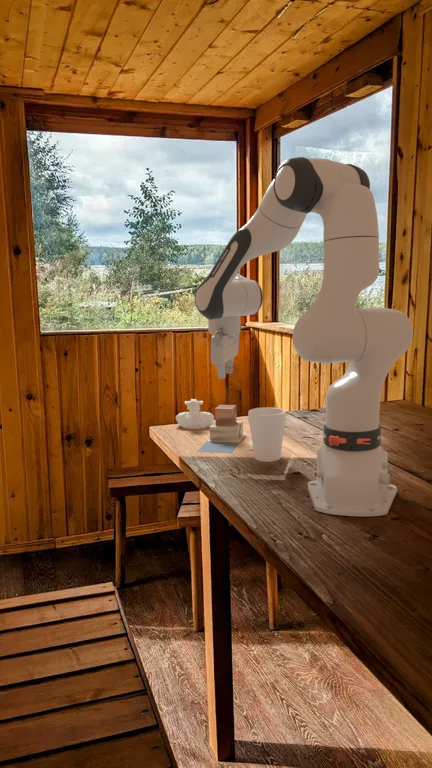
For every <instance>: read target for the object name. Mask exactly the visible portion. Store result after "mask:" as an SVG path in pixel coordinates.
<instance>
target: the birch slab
mask: <svg viewBox="0 0 432 768" xmlns="http://www.w3.org/2000/svg"><path fill="white" fill-rule="evenodd" d="M243 423H244V421H243V420H237V422H236V423H235V425H234V426H216V420H214V422H213V424H212V425H211V426H210V427H209V438H210V441H236V442H238V440H239V439H240V438H241V436H242V435H243V434H244V427H243V426H244V424H243Z"/></svg>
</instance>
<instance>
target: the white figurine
mask: <svg viewBox="0 0 432 768" xmlns="http://www.w3.org/2000/svg"><path fill="white" fill-rule="evenodd" d="M203 404H204V400H197V398H195V399H194V398H191V399H190V400H185V401H184V405H186V407H187V409H186V410H189V411H184V412H180V413H178V414H177V415H176V416H175V420H176V422H177V424H178V426H179V427H180V428H183V429H186V430H200V429H201V430H202V429H207V428H210V426H211V425H212V424H213V423H214V422H215V416H214V414H212V413H211V412H209V411H208V412H207V411H201V405H203Z"/></svg>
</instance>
